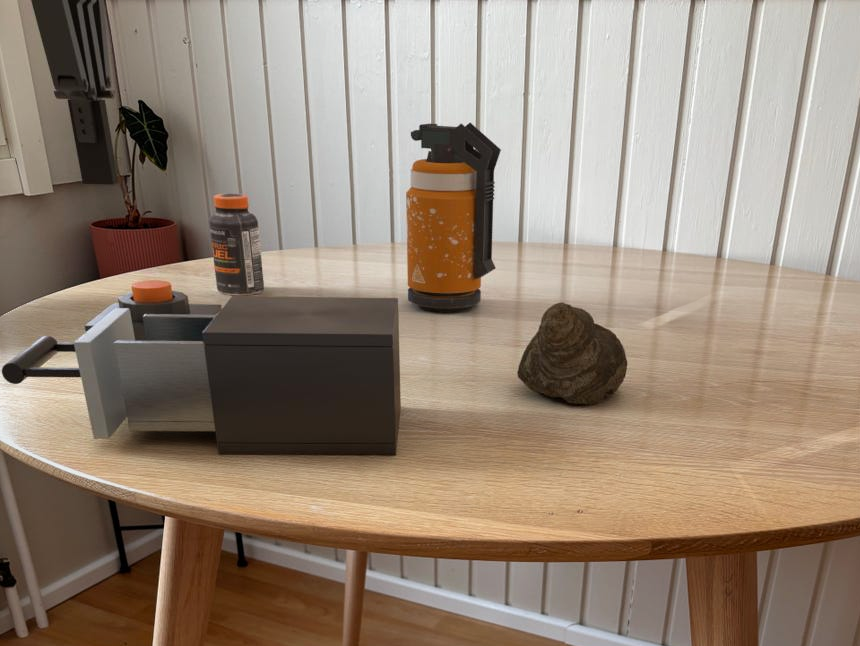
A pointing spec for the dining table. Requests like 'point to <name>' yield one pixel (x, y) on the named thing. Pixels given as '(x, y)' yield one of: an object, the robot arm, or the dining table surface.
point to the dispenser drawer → (133, 372)
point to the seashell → (573, 357)
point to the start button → (152, 291)
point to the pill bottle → (236, 246)
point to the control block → (155, 310)
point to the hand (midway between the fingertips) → (100, 182)
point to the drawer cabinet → (305, 375)
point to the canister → (450, 217)
